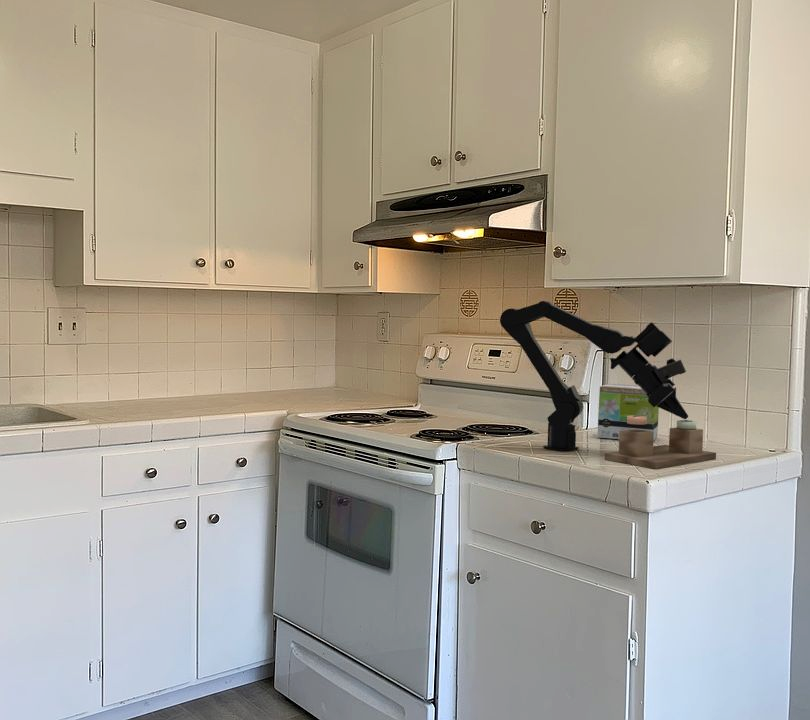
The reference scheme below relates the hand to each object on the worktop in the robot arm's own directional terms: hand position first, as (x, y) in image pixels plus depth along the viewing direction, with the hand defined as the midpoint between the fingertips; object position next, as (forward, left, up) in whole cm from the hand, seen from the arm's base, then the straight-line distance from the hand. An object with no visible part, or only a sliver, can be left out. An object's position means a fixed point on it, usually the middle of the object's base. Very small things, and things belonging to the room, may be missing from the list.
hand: (686, 418), depth 191 cm
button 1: (-4, -14, -1) cm, 15 cm away
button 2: (0, 0, -2) cm, 2 cm away
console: (-2, -7, -10) cm, 12 cm away
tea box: (-27, +14, -10) cm, 32 cm away
